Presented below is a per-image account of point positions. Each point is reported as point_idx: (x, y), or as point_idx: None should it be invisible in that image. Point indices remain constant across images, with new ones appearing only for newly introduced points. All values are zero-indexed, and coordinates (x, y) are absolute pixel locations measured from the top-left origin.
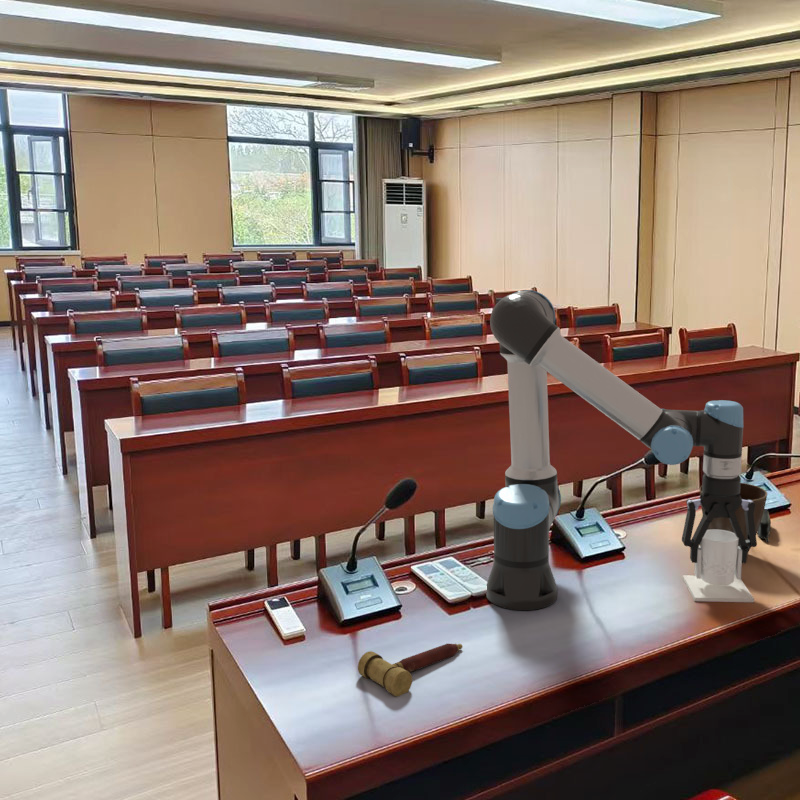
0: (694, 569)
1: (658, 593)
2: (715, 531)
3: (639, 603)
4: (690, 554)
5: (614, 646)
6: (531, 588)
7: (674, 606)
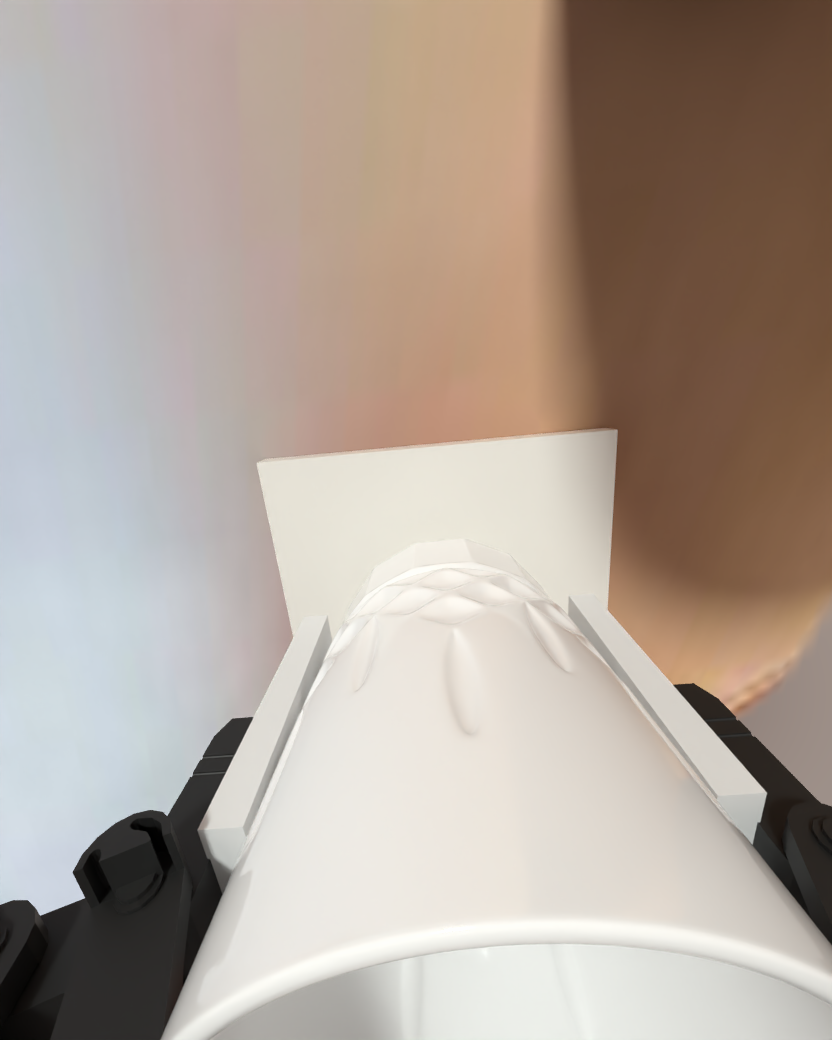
0: (295, 634)
1: (148, 667)
2: (519, 891)
3: (81, 770)
4: (196, 781)
5: None
6: None
7: None
